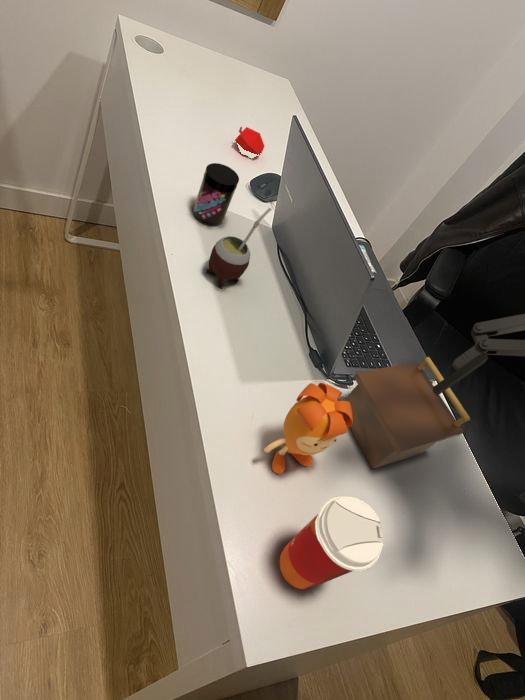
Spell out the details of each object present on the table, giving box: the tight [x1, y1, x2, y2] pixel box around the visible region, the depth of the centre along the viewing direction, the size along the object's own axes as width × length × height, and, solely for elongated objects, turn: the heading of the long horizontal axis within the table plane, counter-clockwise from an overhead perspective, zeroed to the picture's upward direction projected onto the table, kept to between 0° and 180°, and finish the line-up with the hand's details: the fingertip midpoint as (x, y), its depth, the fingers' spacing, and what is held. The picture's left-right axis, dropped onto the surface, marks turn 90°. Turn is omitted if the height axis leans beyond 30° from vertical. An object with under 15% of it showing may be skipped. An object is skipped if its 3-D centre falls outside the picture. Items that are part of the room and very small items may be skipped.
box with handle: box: [342, 356, 471, 470], centre depth 81 cm, size 14×14×12 cm
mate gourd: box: [205, 207, 272, 289], centre depth 89 cm, size 8×8×15 cm
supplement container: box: [192, 162, 240, 226], centre depth 100 cm, size 7×7×10 cm
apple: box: [234, 126, 266, 155], centre depth 123 cm, size 7×7×8 cm
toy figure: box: [263, 382, 353, 475], centre depth 70 cm, size 12×8×15 cm, turn 112°
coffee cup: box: [279, 495, 384, 590], centre depth 60 cm, size 8×8×15 cm
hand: (476, 443), depth 52 cm, fingers open, 13 cm apart
